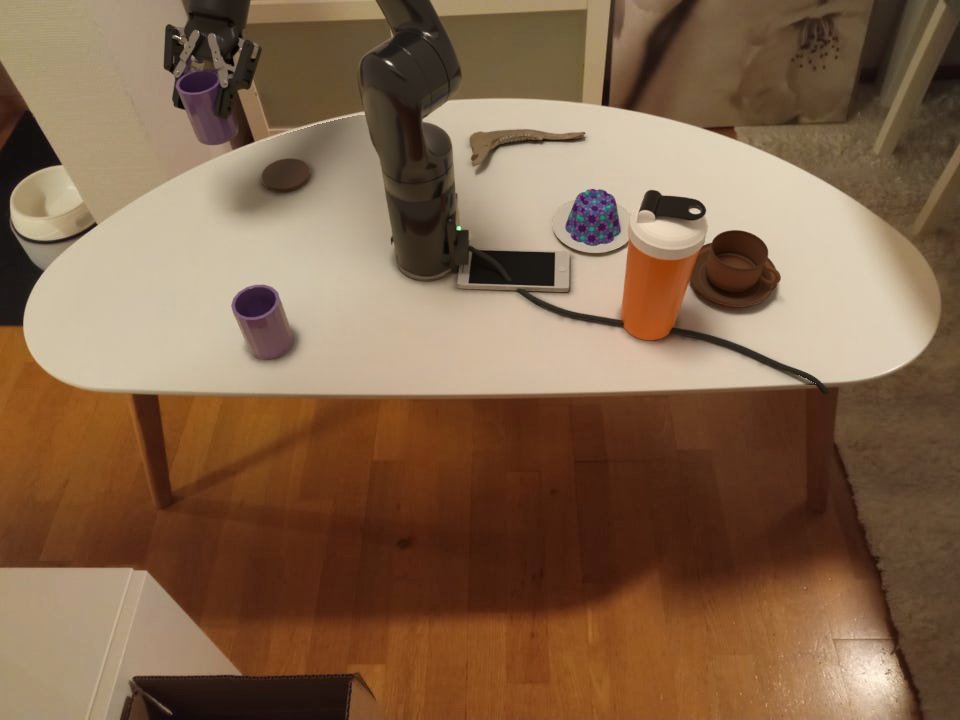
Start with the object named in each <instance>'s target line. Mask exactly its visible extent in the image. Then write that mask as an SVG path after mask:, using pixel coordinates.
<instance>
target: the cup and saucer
mask: <svg viewBox="0 0 960 720" xmlns="http://www.w3.org/2000/svg"><path fill="white" fill-rule="evenodd" d="M781 278H782V276H781V272H779V270H777V268H776V265H775V264H774V262H773V261H772V260H771V259H770V258H769V248H768V246H767V244H766V243H765V241H764V240H763V239H761V238H760V237H759V236H757V235H755V234H754V233H751V232H749V231H745V230H740V229H732V230H731V229H730V230H725V231H722V232H720V233H718V234H717V235H716V236H715V237H714V238H713V239H712V241H711V242H708V243H706V244H704V245H703V247H702V248H701V249H700V250H699V253H698V256H697V259H696V262H695V265H694V268H693V271H692V274H691V277H690V280H689V283H690V284H691V285H692V286H693V288H694V289H695V290H696V291H697V293H699V294H701V296H703V297H704V298H706V299H708V300H710V301H712V302H714V303H717V304H720V305H723V306H728V307H738V308H739V307H749V306H754V305H757V304H759V303H760V304H761V302H763V301H765V300H766V299H768V298H769V297H770V296H772V294H773V293H774V291H775V290H776V288H777V286H778V285H779V283H780V282H781V280H782V279H781Z"/></svg>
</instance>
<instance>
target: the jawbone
mask: <svg viewBox="0 0 960 720" xmlns="http://www.w3.org/2000/svg"><path fill="white" fill-rule="evenodd" d="M586 134H587V132H585V131H580V132H579V131H578V132H573V131H572V132H565V133H552V132H547V131H543V130H542V131H541V130H536V129H528V128H524V129H523V128H521V129H519V128H518V129H504V130H502V129H501V130H492V131H486V132H485V131H475V132H474V133H472V134H471V135H470V137H469V143H470V146H471V148H472V155H471V157H470V160H471V163H472V167H476V166H479V165H480V164H482V163H483V162H484V161H485V160H486V159H487V157H488V155H489V153H490V152H491V151H492V150H493V149H495V148H496V147H497V146H499V145H502V144H509V143H512V142H514V143H515V142H520V141H521V142H522V141H526V140H528V141H529V140H531V141H536V140H537V141H543V140H555V141H556V140H576V139H581V138H584V137H585V135H586Z"/></svg>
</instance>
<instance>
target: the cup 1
mask: <svg viewBox="0 0 960 720" xmlns="http://www.w3.org/2000/svg"><path fill="white" fill-rule="evenodd" d="M176 88H177V91H178V93H179V96H180V98H181V101H182V103H183V106H184V108H185V110H184V111H185V113H186V115H187V118H188V120H189V123H190V126H191V127H192V131H193V133H194V136H195V137H196V139H197V141H198V142H199V143H200V144H202V145H205V146H219V145H223V144H226V143H227V142H230V141H232V140H233V139H234V138H235V137H236V136H237V135H238V133H239V130H240V129H239V128H240V127H239V125H238V121H237V118H236V116H235V113H234V110H233V109H232V113H231V115H230V116H228V119H227V120H225V119H221V118H218V117H215V116H214V109H215V103H216V98H217V93H218V88H221V85H220V81H219V76H218V72H217V70H214V69H209V68H208V69H207V68H202V69H200V70H195V71H191V72H189V73H187V74H185V75H183V76H182V77H181V78H180V79H179V80H178V81H177V83H176Z"/></svg>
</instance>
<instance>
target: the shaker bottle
mask: <svg viewBox="0 0 960 720" xmlns="http://www.w3.org/2000/svg"><path fill="white" fill-rule="evenodd" d="M706 213H707V208H706V206H705V205H704V203H702V202H701V201H700V200H698V199H696V198H692V197H686V196H677V195H666V194H665V195H663V194H662V192H661V191H659V190H658V189H654V188H651V189H649V190H646V192H645V193H644V195H643V198H642V201H641V203H639V204H638V205H636V207H634V209H633V210H632V211H631V213H630V215H631V216H630V221H629V226H628V236H629V241H628V242H627V243H628V244H627V253H626V261H625V262H626V263H625V272H624V283H623V291H622V300H621V301H622V302H621V309H620V310H621V311H620V320H623V323H624V326H622V327H623V329H624V330H625V331H626V332H627V333H628V334H630V335H631V336H632V337H634V338H637V339H640V340H645V341H654V340H661V339H663V338H665V337H667V336H668V335H669V334H670V333H671V332H670V330H671V329H672V327H674V328H675V324H676V321H677V319H678V318H677V317H678V315H679V312H680V310H681V306H682V304H683V301H684V298H685V295H686V291H687V290H688V286H689V283H690V277H691V274H692V271H693V268H694V265H695V262H696V259H697V256H698V253H699V250H700V249H701V248H702V247H703V245H705V242H706V237H707V233H708V227H709V225H708V220H707V218H706V216H705V215H706Z"/></svg>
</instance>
